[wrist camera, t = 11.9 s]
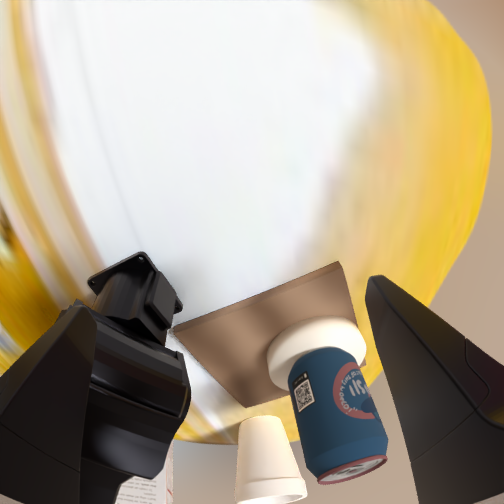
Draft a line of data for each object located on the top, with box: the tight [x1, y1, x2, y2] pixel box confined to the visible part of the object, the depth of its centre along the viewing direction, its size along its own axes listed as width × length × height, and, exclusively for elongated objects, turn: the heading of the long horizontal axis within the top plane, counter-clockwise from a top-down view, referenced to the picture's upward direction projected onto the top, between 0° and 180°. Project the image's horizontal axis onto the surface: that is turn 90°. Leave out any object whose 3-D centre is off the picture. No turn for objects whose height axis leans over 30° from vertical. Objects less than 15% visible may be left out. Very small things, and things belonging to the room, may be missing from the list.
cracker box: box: [115, 440, 173, 504], centre depth 23 cm, size 14×6×21 cm, turn 84°
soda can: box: [287, 346, 388, 485], centre depth 22 cm, size 7×7×12 cm
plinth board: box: [174, 261, 366, 408], centre depth 28 cm, size 16×16×3 cm
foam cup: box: [234, 415, 307, 504], centre depth 33 cm, size 10×9×13 cm
